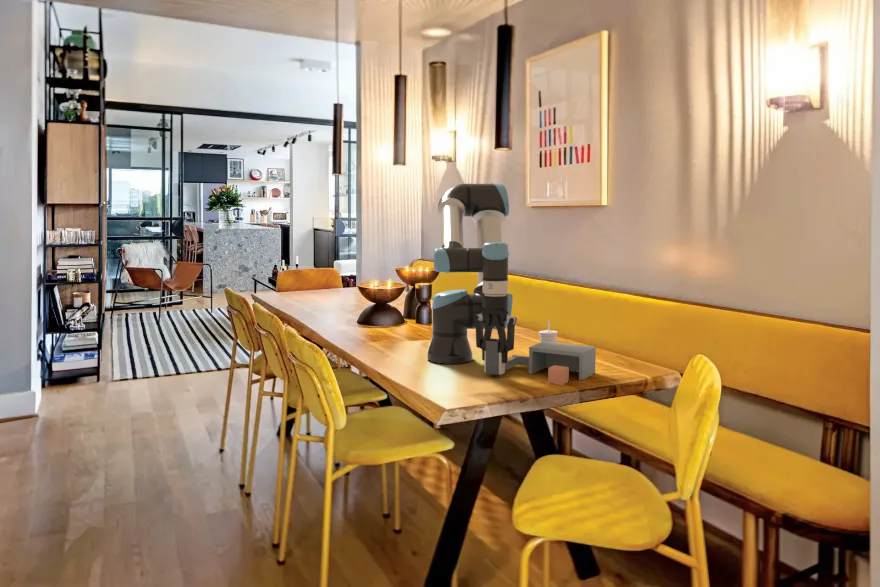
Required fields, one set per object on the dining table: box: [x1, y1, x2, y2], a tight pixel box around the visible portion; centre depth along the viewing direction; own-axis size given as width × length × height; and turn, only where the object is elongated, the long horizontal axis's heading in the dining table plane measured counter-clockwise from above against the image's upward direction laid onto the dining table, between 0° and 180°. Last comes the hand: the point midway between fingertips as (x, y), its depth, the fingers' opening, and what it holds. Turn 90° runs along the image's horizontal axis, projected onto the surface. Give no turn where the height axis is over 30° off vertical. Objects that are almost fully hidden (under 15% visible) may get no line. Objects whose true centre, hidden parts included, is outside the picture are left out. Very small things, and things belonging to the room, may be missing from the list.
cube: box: [547, 365, 570, 386], centre depth 188 cm, size 4×4×4 cm
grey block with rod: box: [485, 337, 529, 376], centre depth 199 cm, size 8×17×10 cm, turn 147°
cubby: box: [528, 342, 597, 381], centre depth 199 cm, size 17×11×8 cm, turn 57°
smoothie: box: [538, 318, 559, 343], centre depth 218 cm, size 6×6×14 cm
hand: (494, 372), depth 195 cm, fingers closed on grey block with rod, 4 cm apart
